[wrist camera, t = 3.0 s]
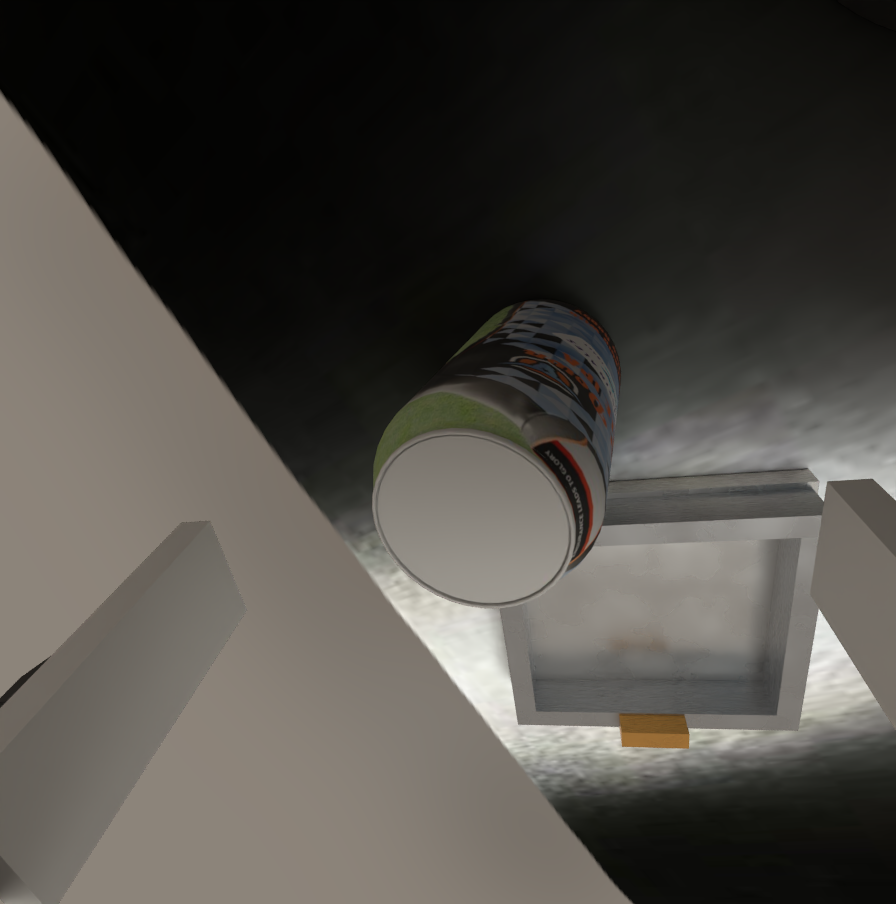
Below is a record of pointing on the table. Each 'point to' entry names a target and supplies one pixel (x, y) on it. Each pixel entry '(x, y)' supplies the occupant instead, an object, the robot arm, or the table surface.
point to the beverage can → (503, 458)
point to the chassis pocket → (678, 612)
